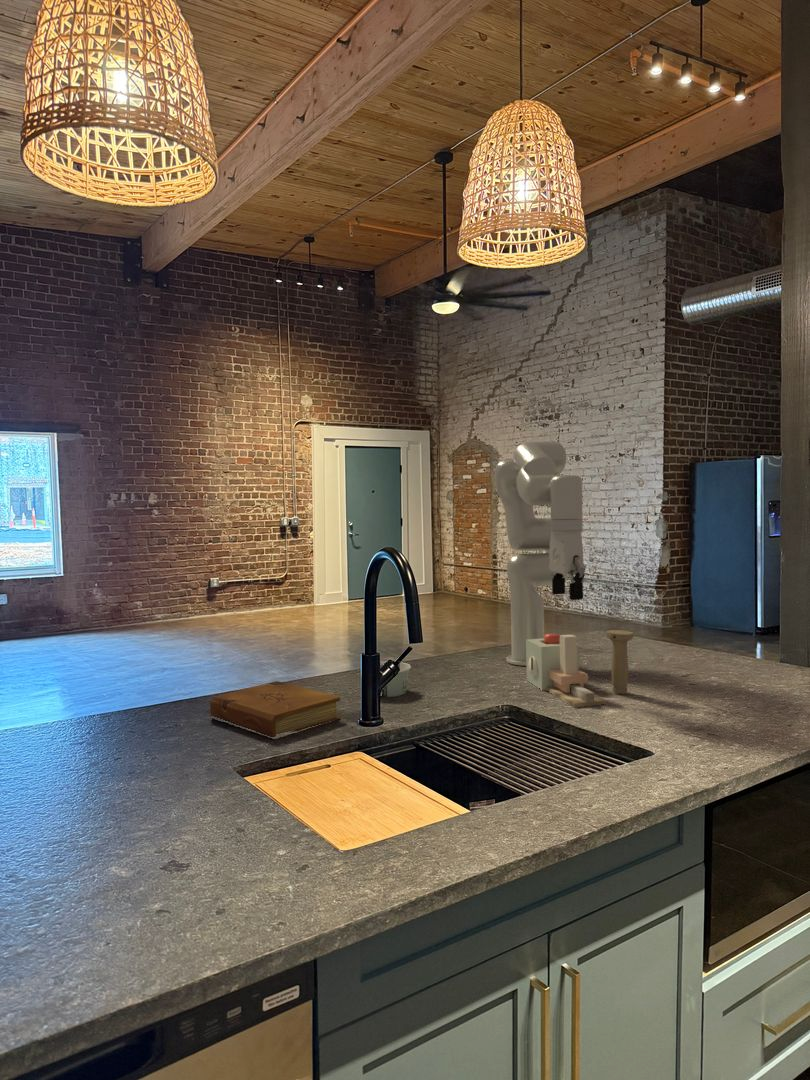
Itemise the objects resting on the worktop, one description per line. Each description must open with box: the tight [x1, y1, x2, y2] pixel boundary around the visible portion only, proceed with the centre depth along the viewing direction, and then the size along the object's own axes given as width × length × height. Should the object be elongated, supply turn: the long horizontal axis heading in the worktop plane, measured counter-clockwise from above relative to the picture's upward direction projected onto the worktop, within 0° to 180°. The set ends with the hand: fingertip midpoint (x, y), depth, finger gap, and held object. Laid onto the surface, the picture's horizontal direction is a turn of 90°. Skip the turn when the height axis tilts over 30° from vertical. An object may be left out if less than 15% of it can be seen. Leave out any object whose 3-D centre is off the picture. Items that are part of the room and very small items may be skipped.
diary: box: [209, 680, 342, 737], centre depth 169 cm, size 23×19×6 cm
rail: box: [546, 684, 607, 709], centre depth 180 cm, size 16×8×3 cm, turn 13°
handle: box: [605, 629, 634, 695], centre depth 183 cm, size 5×6×15 cm
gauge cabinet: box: [525, 638, 580, 691], centre depth 193 cm, size 10×11×11 cm
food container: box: [380, 661, 412, 698], centre depth 190 cm, size 12×12×6 cm
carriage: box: [549, 633, 589, 693], centre depth 183 cm, size 7×7×13 cm
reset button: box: [544, 633, 561, 644], centre depth 193 cm, size 4×4×3 cm
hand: (567, 596), depth 183 cm, fingers open, 9 cm apart
